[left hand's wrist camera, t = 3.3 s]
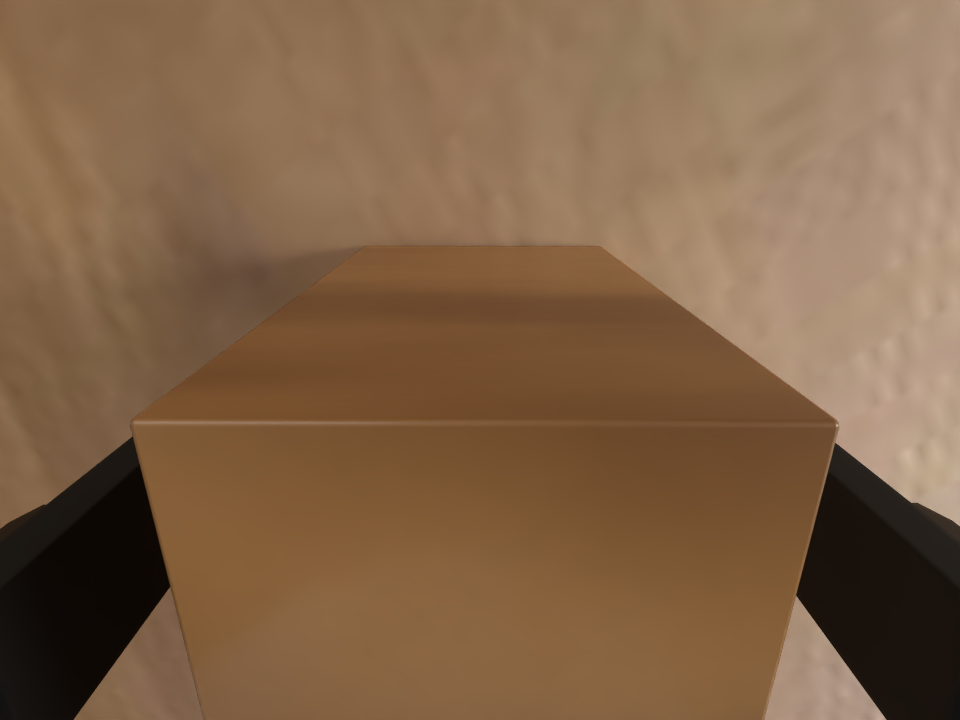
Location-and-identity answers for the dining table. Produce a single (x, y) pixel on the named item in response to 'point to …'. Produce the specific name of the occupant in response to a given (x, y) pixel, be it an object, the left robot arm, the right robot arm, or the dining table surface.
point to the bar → (484, 499)
